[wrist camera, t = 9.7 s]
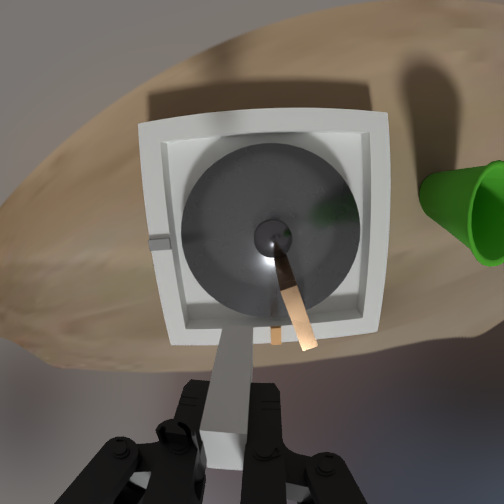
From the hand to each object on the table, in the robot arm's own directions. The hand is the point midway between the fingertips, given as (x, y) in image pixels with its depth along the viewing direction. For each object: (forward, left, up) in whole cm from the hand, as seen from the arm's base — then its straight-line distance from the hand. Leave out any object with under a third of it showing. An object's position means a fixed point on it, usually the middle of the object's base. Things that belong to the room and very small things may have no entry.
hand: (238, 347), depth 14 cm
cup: (-22, -5, -16) cm, 27 cm away
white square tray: (-3, -2, -16) cm, 16 cm away
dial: (-3, -2, -14) cm, 14 cm away
